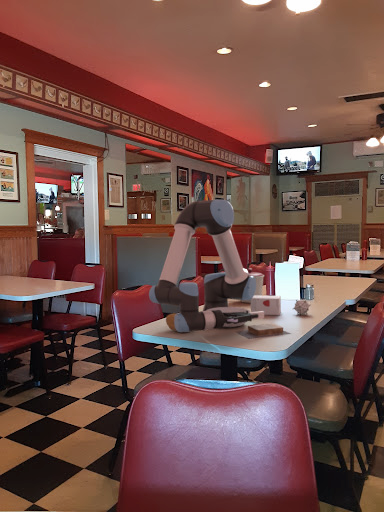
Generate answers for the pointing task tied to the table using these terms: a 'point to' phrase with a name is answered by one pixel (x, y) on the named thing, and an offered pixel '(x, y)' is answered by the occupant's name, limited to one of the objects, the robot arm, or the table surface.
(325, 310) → the table surface
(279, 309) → the supplement box
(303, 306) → the game die
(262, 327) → the wooden block
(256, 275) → the canister
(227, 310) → the serving bowl
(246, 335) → the rubber mat
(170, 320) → the potato
